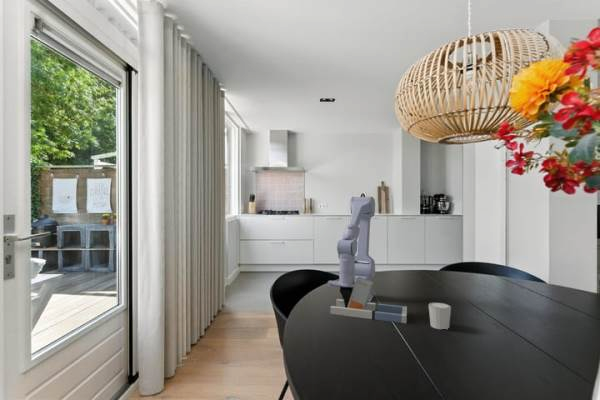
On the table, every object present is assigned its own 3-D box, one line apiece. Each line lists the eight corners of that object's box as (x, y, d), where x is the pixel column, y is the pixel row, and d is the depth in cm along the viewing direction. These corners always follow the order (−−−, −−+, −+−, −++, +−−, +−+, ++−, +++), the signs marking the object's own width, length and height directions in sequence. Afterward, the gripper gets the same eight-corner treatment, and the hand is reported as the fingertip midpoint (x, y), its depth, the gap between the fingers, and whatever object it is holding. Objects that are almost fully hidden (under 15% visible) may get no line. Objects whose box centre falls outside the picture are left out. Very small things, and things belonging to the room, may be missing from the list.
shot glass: (433, 321, 109) (433, 300, 109) (454, 326, 104) (454, 305, 104) (425, 326, 104) (425, 305, 104) (446, 332, 99) (446, 309, 99)
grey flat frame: (337, 305, 125) (337, 299, 125) (406, 313, 116) (406, 306, 116) (330, 313, 115) (330, 307, 115) (406, 323, 106) (406, 316, 106)
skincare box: (346, 308, 117) (355, 278, 116) (350, 304, 121) (358, 275, 119) (362, 315, 114) (371, 284, 113) (365, 311, 118) (374, 282, 117)
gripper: (325, 271, 118) (325, 307, 117) (364, 274, 113) (364, 312, 112) (330, 268, 124) (330, 302, 124) (367, 271, 119) (367, 307, 119)
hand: (346, 307), depth 118 cm, fingers closed
